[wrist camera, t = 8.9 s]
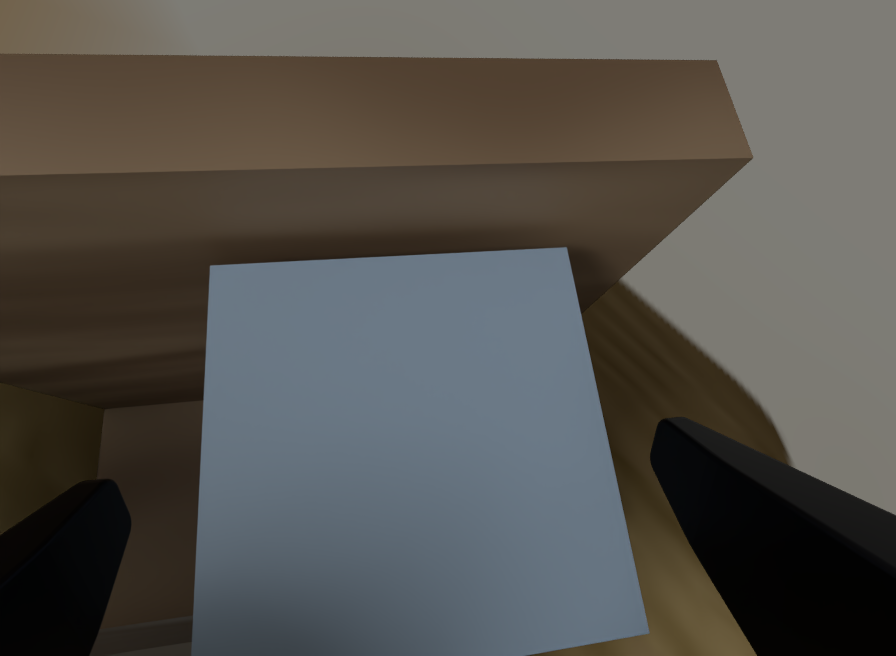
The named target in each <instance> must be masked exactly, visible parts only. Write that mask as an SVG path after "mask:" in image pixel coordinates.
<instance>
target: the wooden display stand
mask: <svg viewBox="0 0 896 656" xmlns="http://www.w3.org/2000/svg"><path fill="white" fill-rule="evenodd" d="M752 158H753V155H752V153H751V150H750V147H749V145H748V142H747V139H746V137H745V134H744V132H743V129H742V126H741V124H740V121H739V118H738V116H737V113H736V110H735V108H734V105H733V102H732V100H731V97H730V94H729V92H728V89H727V87H726V84H725V81H724V79H723V76H722V73H721V71H720V68H719V65H718V63H717V61H716V60H622V59H621V60H619V59H512V58H511V59H510V58H402V57H295V56H294V57H293V56H292V57H291V56H290V57H289V56H186V55H184V56H183V55H77V54H76V55H75V54H73V55H71V54H0V382H1V383H5V384H8V385H12V386H16V387H20V388H24V389H28V390H32V391H36V392H40V393H44V394H47V395H51V396H55V397H59V398H63V399H67V400H71V401H75V402H79V403H82V404H86V405H90V406H94V407H98V408H102V409H105V410H104V418H103V427H102V436H101V445H100V453H99V462H98V471H97V479H106V478H107V479H112V480H114V481H115V482H116V483H117V485H118V487H119V489H120V492H121V494H122V496H123V499H124V501H125V503H126V506H127V508H128V510H129V513H130V516H131V521H132V526H131V532H130V535H129V539H128V542H127V545H126V548H125V551H124V555H123V558H122V561H121V564H120V567H119V570H118V574H117V577H116V580H115V583H114V586H113V590H112V593H111V596H110V599H109V602H108V606H107V609H106V612H105V615H104V618H103V621H102V624H101V627H100V630H99V633H98V636H97V638H96V641H95V643H94V646H93V648H92V651H91V653H90V655H89V656H191V650H192V629H193V609H194V588H195V567H196V547H197V526H198V505H199V485H200V464H201V443H202V423H203V402H204V382H205V361H206V340H207V320H208V299H209V278H210V266H212V265H231V264H251V263H270V262H290V261H309V260H329V259H348V258H368V257H387V256H407V255H426V254H446V253H466V252H485V251H505V250H524V249H544V248H563V247H567V251H568V256H569V260H570V265H571V270H572V274H573V279H574V284H575V288H576V293H577V298H578V302H579V307H580V312H581V314H582V313H583V312H584V311H585V310H586V309H587V308H588V307H589V306H590V305H592V304H593V303H594V302H595V301H596V300H597V299H598V298H599V297H600V296H602V295H603V294H604V293H605V292H606V291H607V290H608V289H609V288H610V287H611V286H613V285H614V284H615V283H616V282H617V281H618V280H619V279H620V278H621V277H622V276H624V275H625V274H626V273H627V272H628V271H629V270H630V269H631V268H632V267H633V266H634V265H636V264H637V263H638V262H639V261H640V260H641V259H642V258H643V257H645V256H646V255H647V254H648V253H649V252H650V251H651V250H652V249H653V248H654V247H656V245H658V244H659V243H660V242H661V241H662V240H663V239H664V238H665V237H666V236H668V235H669V234H670V233H671V232H672V231H673V230H674V229H675V228H677V227H678V225H680V224H681V223H682V222H683V221H684V220H685V219H686V218H687V217H689V216H690V215H691V214H692V213H693V212H694V211H695V210H696V209H697V208H699V207H700V206H701V205H702V204H703V203H704V202H705V201H706V200H707V199H709V198H710V197H711V196H712V195H713V194H714V193H715V192H716V191H717V190H718V189H720V188H721V187H722V186H723V185H724V184H725V183H726V182H727V181H728V180H729V179H730V178H732V177H733V176H734V175H735V174H736V173H737V172H738V171H739V170H741V169H742V168H743V167H744V166H745V165H746V164H747V163H748V162H749V161H750V160H752Z"/></svg>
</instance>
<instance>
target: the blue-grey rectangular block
mask: <svg viewBox="0 0 896 656" xmlns="http://www.w3.org/2000/svg"><path fill="white" fill-rule="evenodd" d="M644 634H649V629H648V624H647V619H646V615H645V610H644V605H643V601H642V596H641V591H640V587H639V582H638V577H637V573H636V568H635V563H634V559H633V554H632V549H631V545H630V540H629V535H628V531H627V526H626V521H625V517H624V512H623V507H622V503H621V498H620V493H619V489H618V484H617V479H616V475H615V470H614V465H613V461H612V456H611V451H610V447H609V442H608V437H607V433H606V428H605V424H604V419H603V414H602V410H601V405H600V400H599V396H598V391H597V386H596V382H595V377H594V372H593V368H592V363H591V358H590V354H589V349H588V344H587V340H586V335H585V330H584V326H583V321H582V316H581V312H580V307H579V302H578V298H577V293H576V288H575V284H574V279H573V274H572V270H571V265H570V260H569V256H568V251H567V247H563V248H544V249H524V250H505V251H485V252H466V253H446V254H426V255H407V256H387V257H368V258H348V259H329V260H309V261H290V262H270V263H251V264H231V265H212V266H210V278H209V299H208V320H207V340H206V361H205V382H204V402H203V423H202V443H201V464H200V485H199V505H198V526H197V547H196V567H195V588H194V609H193V629H192V650H191V656H526V655H532V654H537V653H543V652H548V651H554V650H560V649H565V648H571V647H576V646H582V645H588V644H593V643H599V642H604V641H610V640H616V639H621V638H627V637H632V636H638V635H644Z"/></svg>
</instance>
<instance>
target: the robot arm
mask: <svg viewBox="0 0 896 656" xmlns="http://www.w3.org/2000/svg"><path fill="white" fill-rule="evenodd" d="M650 461H651V465H652V468H653V470H654V472H655V474H656V476H657V478H658V481H659V483H660V485H661V487H662V489H663V491H664V493H665V495H666V497H667V499H668V501H669V503H670V505H671V507H672V509H673V511H674V513H675V516H676V518H677V520H678V522H679V524H680V526H681V528H682V530H683V532H684V534H685V536H686V538H687V540H688V542H689V544H690V545H691V547H692V549H693V551H694V552H695V554H696V556H697V558H698V559H699V561H700V563H701V564H702V566H703V568H704V569H705V571H706V573H707V574H708V576H709V577H710V579H711V581H712V582H713V584H714V586H715V587H716V589H717V591H718V592H719V594H720V595H721V597H722V599H723V600H724V602H725V604H726V605H727V607H728V609H729V610H730V612H731V614H732V615H733V617H734V618H735V620H736V622H737V623H738V625H739V627H740V628H741V630H742V632H743V633H744V635H745V636H746V638H747V640H748V641H749V643H750V645H751V646H752V648H753V650H754V651H755V653H756V655H757V656H896V515H894V514H892V513H890V512H887V511H885V510H883V509H881V508H879V507H877V506H875V505H872V504H870V503H868V502H866V501H864V500H862V499H859V498H857V497H855V496H853V495H851V494H849V493H846V492H844V491H842V490H840V489H838V488H836V487H834V486H831V485H829V484H827V483H825V482H823V481H820V480H819V479H816V478H814V477H812V476H810V475H808V474H806V473H803V472H801V471H799V470H797V469H795V468H793V467H791V466H789V465H786V464H784V463H782V462H780V461H778V460H776V459H773V458H771V457H769V456H767V455H765V454H763V453H761V452H758V451H756V450H754V449H752V448H750V447H748V446H746V445H743V444H741V443H739V442H737V441H735V440H733V439H731V438H728V437H726V436H724V435H722V434H720V433H718V432H715V431H713V430H711V429H709V428H707V427H705V426H703V425H700V424H698V423H696V422H694V421H692V420H690V419H688V418H685V417H674V418H665V419H662V420H661V421H660V422H659V423H658V425H657V429H656V433H655V437H654V441H653V445H652V449H651V453H650ZM131 526H132V521H131V516H130V513H129V510H128V508H127V506H126V503H125V501H124V499H123V496H122V494H121V492H120V489H119V487H118V485H117V483H116V482H115V481H114V480H112V479H107V478H106V479H97V480H87V481H82V482H80V483H78V484H76V485H74V486H73V487H71V488H70V489H68V490H67V491H65V492H64V493H62V494H61V495H59V496H58V497H56V498H55V499H53V500H52V501H50V502H49V503H47V504H46V505H44V506H43V507H41V508H40V509H39V510H37V511H36V512H34V513H33V514H31V515H30V516H28V517H27V518H25V519H24V520H22V521H21V522H19V523H18V524H16V525H15V526H13V527H12V528H10V529H9V530H7V531H6V532H4V533H3V534H1V535H0V656H89V655H90V653H91V651H92V648H93V646H94V643H95V641H96V638H97V636H98V633H99V630H100V627H101V624H102V621H103V618H104V615H105V612H106V609H107V606H108V602H109V599H110V596H111V593H112V590H113V586H114V583H115V580H116V577H117V574H118V570H119V567H120V564H121V561H122V558H123V555H124V551H125V548H126V545H127V542H128V539H129V535H130V532H131Z"/></svg>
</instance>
